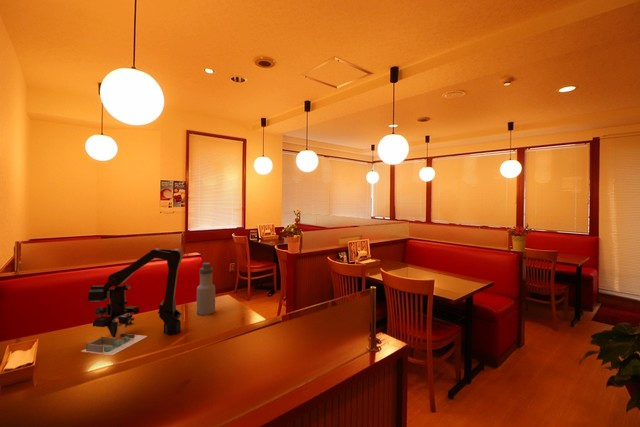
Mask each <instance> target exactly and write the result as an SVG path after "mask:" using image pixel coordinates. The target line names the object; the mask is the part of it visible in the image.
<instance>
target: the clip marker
mask: <svg viewBox="0 0 640 427" xmlns="http://www.w3.org/2000/svg"><path fill="white" fill-rule="evenodd" d="M128 341H129V337H124V341H122V342H121V341H115V342H119V346H120V345H122V344H124V343H126V342H128Z"/></svg>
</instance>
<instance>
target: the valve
mask: <svg viewBox="0 0 640 427" xmlns="http://www.w3.org/2000/svg"><path fill="white" fill-rule="evenodd" d="M133 315H134V314H133V313H130V316H133ZM132 321H135V317H131V319H130V320H129V322H128V324H127V326H128V325H133V322H132ZM117 322H118V323H119V320H118V321H117Z"/></svg>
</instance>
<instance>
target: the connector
mask: <svg viewBox="0 0 640 427" xmlns="http://www.w3.org/2000/svg"><path fill="white" fill-rule="evenodd" d="M135 335H136V334H133V335H132V334H131V333H126V328H125V324H121V323H118V326H117V331H116V335H115V337H112V335H111V333H110V332H109V338H115V339H120V338H122V337H129V338H134V337H135Z"/></svg>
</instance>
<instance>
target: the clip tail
mask: <svg viewBox="0 0 640 427" xmlns="http://www.w3.org/2000/svg"><path fill="white" fill-rule="evenodd" d="M118 346H119V342H113V346H112V347H110V346H105V347H104V351H105V352H109V351H111V350H113V349H115V348H117V347H118Z"/></svg>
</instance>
